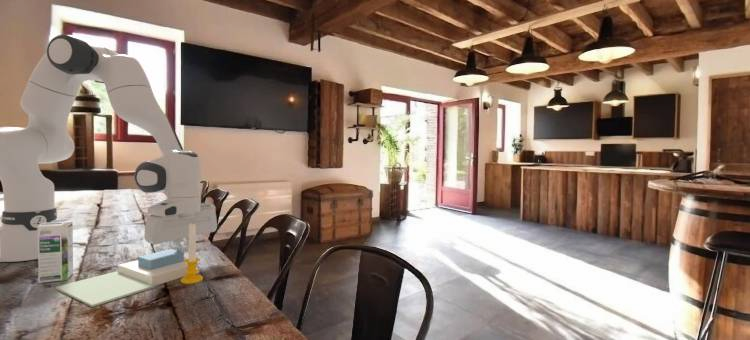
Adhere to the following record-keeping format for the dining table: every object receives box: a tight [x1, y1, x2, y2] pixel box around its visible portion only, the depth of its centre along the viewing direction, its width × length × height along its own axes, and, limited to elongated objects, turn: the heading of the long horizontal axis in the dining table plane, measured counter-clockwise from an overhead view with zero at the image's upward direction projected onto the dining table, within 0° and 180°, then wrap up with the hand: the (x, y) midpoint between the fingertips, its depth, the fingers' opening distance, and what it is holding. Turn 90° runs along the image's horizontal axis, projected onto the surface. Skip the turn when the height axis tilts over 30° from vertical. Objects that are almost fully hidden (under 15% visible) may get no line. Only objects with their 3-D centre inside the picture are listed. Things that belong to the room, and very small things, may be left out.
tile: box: [137, 248, 185, 270], centre depth 98 cm, size 6×9×2 cm, turn 151°
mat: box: [54, 270, 155, 308], centre depth 86 cm, size 18×13×1 cm
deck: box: [117, 259, 188, 287], centre depth 97 cm, size 16×12×2 cm
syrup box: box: [37, 220, 74, 284], centre depth 91 cm, size 6×6×14 cm
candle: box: [180, 222, 204, 285], centre depth 93 cm, size 5×5×16 cm
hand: (183, 252), depth 103 cm, fingers closed
